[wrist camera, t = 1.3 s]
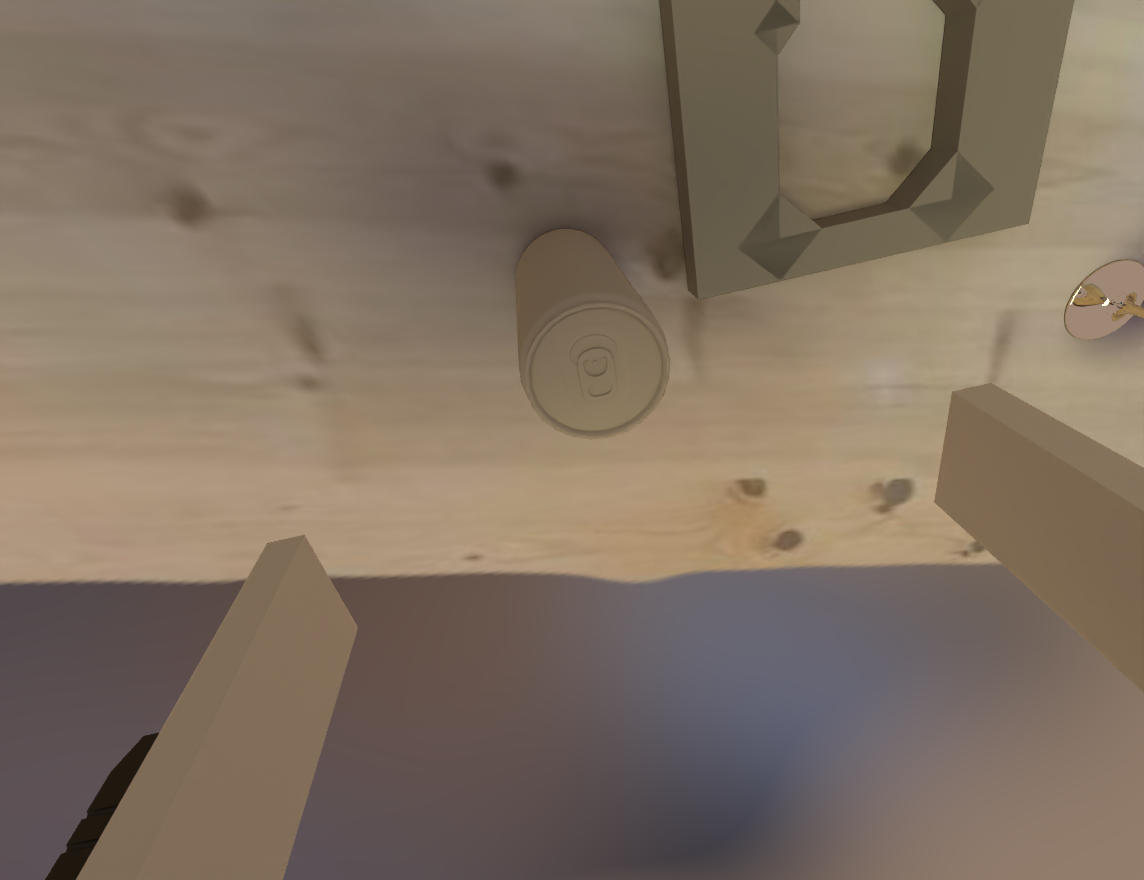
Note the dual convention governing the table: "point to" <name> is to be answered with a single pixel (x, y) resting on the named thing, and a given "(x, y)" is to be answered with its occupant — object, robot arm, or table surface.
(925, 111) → the table surface
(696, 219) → the flat rectangular frame
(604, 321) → the beverage can
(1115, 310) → the wineglass
